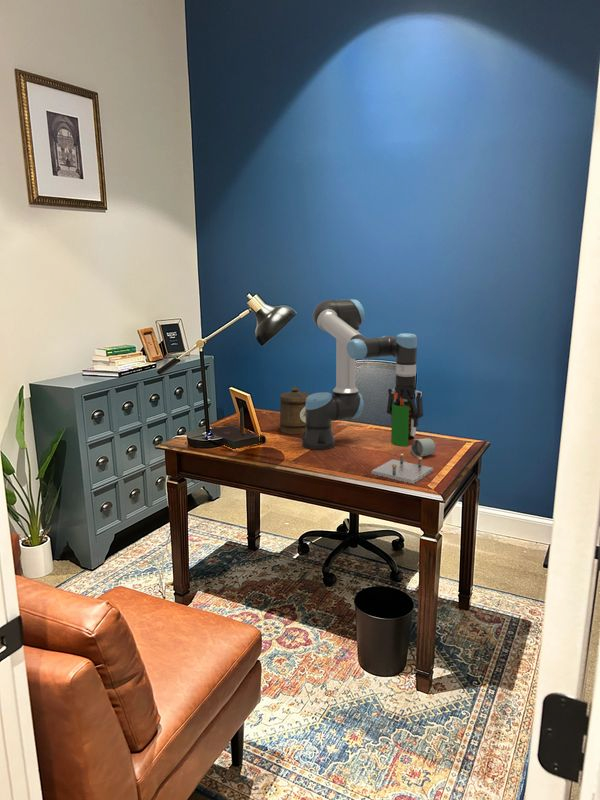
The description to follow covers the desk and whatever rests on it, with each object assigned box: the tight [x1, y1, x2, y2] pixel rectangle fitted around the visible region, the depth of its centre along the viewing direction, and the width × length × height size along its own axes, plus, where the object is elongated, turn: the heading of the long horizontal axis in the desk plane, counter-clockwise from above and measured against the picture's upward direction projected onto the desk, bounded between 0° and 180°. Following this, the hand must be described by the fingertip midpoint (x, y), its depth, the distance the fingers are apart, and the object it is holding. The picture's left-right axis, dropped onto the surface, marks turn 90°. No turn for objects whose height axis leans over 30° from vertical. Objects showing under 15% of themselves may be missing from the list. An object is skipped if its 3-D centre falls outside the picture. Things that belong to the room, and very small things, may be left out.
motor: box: [390, 391, 415, 448], centre depth 232 cm, size 10×9×20 cm
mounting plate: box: [371, 452, 434, 485], centre depth 237 cm, size 18×17×5 cm
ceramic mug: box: [410, 437, 437, 458], centre depth 259 cm, size 11×8×8 cm
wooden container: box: [279, 386, 311, 435], centre depth 295 cm, size 15×15×22 cm
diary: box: [204, 424, 267, 449], centre depth 280 cm, size 19×25×5 cm
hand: (404, 433), depth 233 cm, fingers closed on motor, 7 cm apart
